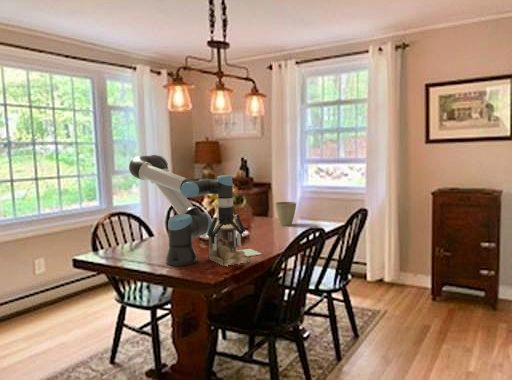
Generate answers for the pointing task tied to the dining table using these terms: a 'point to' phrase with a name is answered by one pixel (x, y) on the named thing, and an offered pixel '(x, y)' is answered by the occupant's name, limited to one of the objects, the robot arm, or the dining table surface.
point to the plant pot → (286, 212)
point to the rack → (220, 261)
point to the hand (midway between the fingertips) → (227, 248)
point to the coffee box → (226, 241)
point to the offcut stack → (234, 255)
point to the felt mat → (250, 252)
